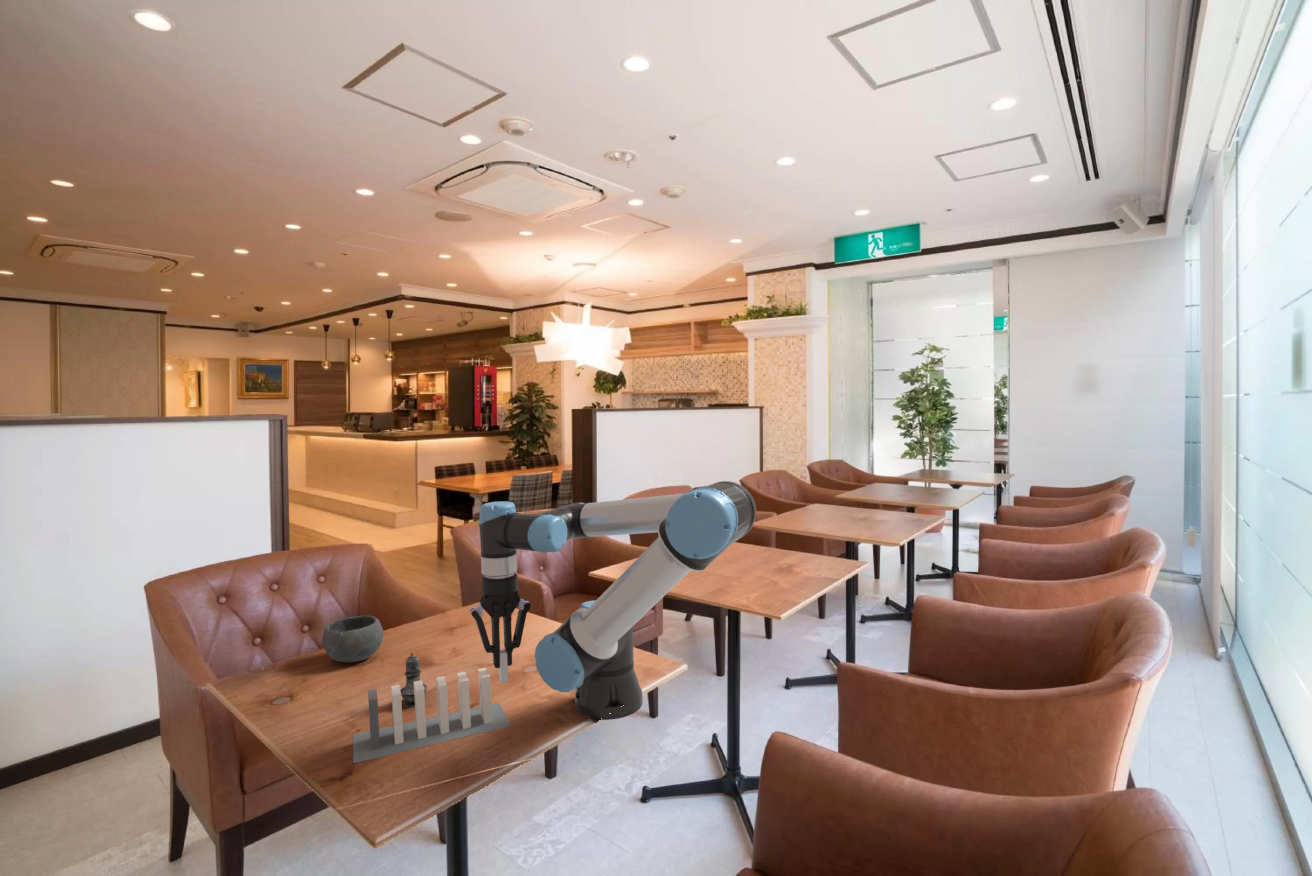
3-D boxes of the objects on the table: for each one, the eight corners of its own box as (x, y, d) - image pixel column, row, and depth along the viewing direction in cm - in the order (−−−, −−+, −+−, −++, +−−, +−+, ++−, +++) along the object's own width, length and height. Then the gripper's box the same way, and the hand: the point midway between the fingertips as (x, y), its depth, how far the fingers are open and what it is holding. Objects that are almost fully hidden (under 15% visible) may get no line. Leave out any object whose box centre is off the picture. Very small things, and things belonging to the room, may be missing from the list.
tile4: (424, 726, 137) (421, 680, 137) (426, 737, 133) (424, 689, 132) (416, 728, 137) (413, 681, 136) (418, 739, 132) (415, 691, 132)
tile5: (401, 731, 136) (399, 684, 135) (403, 742, 131) (401, 694, 130) (393, 733, 135) (391, 686, 134) (395, 744, 130) (392, 695, 130)
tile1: (487, 712, 143) (485, 667, 142) (492, 722, 138) (490, 676, 138) (480, 714, 142) (478, 669, 142) (484, 724, 138) (482, 677, 137)
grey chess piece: (401, 712, 145) (398, 659, 144) (400, 701, 150) (397, 650, 150) (429, 706, 147) (426, 654, 147) (426, 696, 153) (424, 646, 152)
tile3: (446, 721, 139) (443, 676, 139) (449, 732, 135) (447, 685, 134) (438, 723, 139) (436, 677, 138) (441, 734, 134) (438, 686, 133)
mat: (499, 704, 147) (499, 702, 147) (510, 727, 137) (510, 726, 137) (353, 736, 135) (353, 734, 135) (353, 765, 124) (353, 763, 124)
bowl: (389, 660, 175) (388, 624, 174) (328, 675, 166) (326, 636, 166) (378, 644, 187) (376, 610, 186) (320, 657, 179) (318, 621, 178)
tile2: (467, 717, 141) (465, 671, 140) (471, 727, 137) (468, 680, 136) (459, 718, 140) (457, 673, 140) (463, 729, 136) (460, 682, 135)
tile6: (379, 736, 134) (376, 689, 133) (379, 748, 129) (377, 698, 129) (370, 738, 133) (367, 690, 132) (371, 750, 128) (368, 700, 128)
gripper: (525, 566, 146) (528, 668, 148) (465, 573, 141) (469, 680, 142) (533, 574, 140) (537, 681, 141) (471, 582, 134) (475, 694, 136)
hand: (503, 680), depth 142 cm, fingers closed
